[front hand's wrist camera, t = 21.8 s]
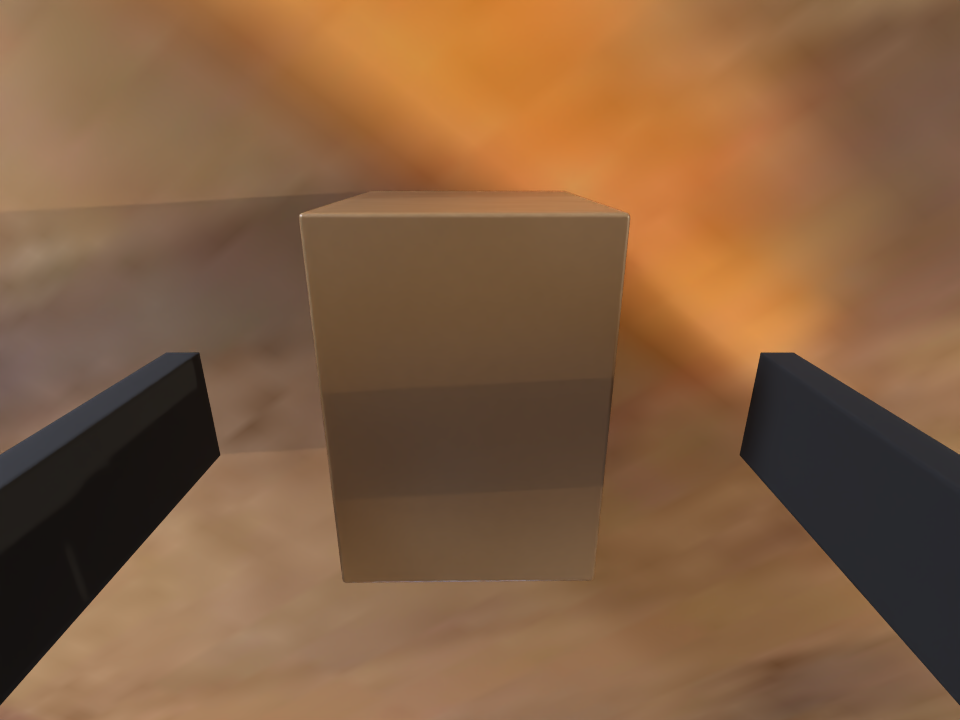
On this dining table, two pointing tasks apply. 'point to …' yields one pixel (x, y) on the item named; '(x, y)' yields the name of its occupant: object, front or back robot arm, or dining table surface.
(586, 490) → the block
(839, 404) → the front robot arm
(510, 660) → the dining table surface
